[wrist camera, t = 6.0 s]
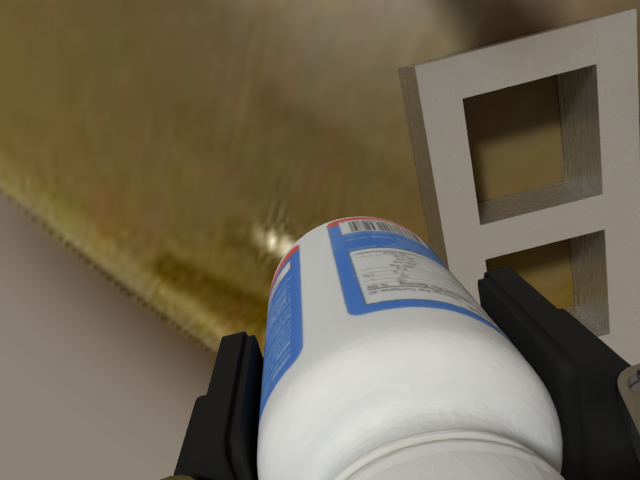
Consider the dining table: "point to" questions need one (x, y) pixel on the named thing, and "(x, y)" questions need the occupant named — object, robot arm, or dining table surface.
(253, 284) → the dining table surface
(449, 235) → the hollow concrete block
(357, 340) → the pill bottle
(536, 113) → the dining table surface
